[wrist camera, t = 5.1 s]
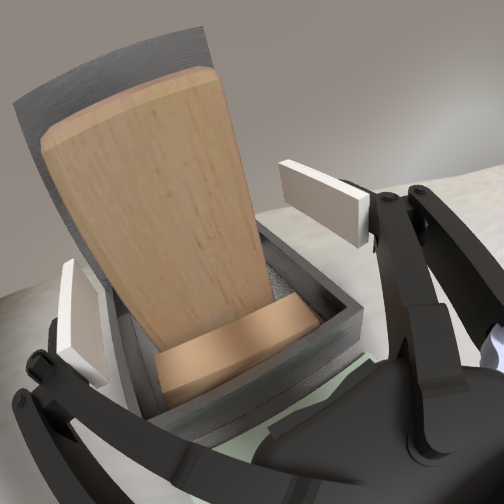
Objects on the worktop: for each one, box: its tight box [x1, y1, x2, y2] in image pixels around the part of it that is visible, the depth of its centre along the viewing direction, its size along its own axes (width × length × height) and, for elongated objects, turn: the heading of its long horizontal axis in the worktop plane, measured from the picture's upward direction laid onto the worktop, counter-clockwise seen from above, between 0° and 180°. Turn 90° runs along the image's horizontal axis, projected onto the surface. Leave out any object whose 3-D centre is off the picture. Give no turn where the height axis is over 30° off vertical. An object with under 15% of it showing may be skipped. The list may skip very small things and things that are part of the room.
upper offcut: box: [154, 292, 319, 407], centre depth 19 cm, size 11×3×2 cm, turn 114°
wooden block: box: [41, 66, 275, 352], centre depth 20 cm, size 10×10×20 cm
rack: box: [13, 26, 364, 441], centre depth 18 cm, size 17×17×24 cm
